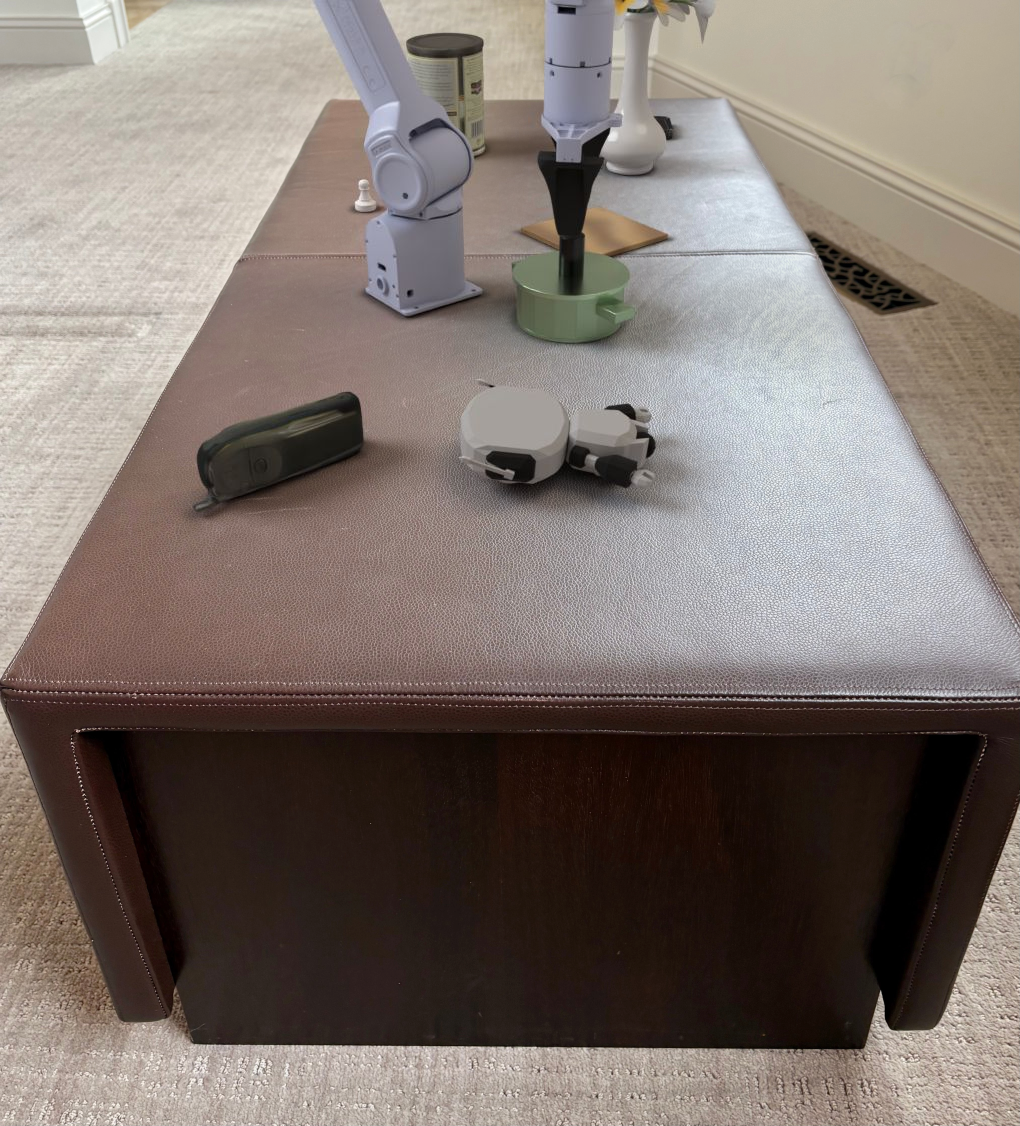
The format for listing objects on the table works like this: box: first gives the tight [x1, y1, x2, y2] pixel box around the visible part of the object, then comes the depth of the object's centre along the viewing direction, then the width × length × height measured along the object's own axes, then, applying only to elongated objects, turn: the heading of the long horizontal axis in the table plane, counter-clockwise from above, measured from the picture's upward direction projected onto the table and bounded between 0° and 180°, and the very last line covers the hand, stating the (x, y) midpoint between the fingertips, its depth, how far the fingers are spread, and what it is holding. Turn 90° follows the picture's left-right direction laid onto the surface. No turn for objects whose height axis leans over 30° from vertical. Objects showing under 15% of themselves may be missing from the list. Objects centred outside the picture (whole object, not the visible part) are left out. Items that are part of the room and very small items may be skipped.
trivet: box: [520, 205, 669, 257], centre depth 123 cm, size 12×12×1 cm
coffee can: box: [405, 32, 486, 157], centre depth 146 cm, size 10×10×14 cm
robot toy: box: [457, 378, 657, 490], centre depth 82 cm, size 12×4×15 cm
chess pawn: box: [354, 179, 377, 213], centre depth 129 cm, size 3×3×4 cm
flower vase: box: [599, 0, 717, 176], centre depth 135 cm, size 13×18×25 cm
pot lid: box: [511, 233, 631, 301], centre depth 101 cm, size 11×11×5 cm
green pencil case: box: [192, 391, 365, 513], centre depth 80 cm, size 5×3×15 cm
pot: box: [511, 259, 636, 344], centre depth 103 cm, size 10×16×4 cm, turn 37°
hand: (573, 219), depth 98 cm, fingers open, 7 cm apart
